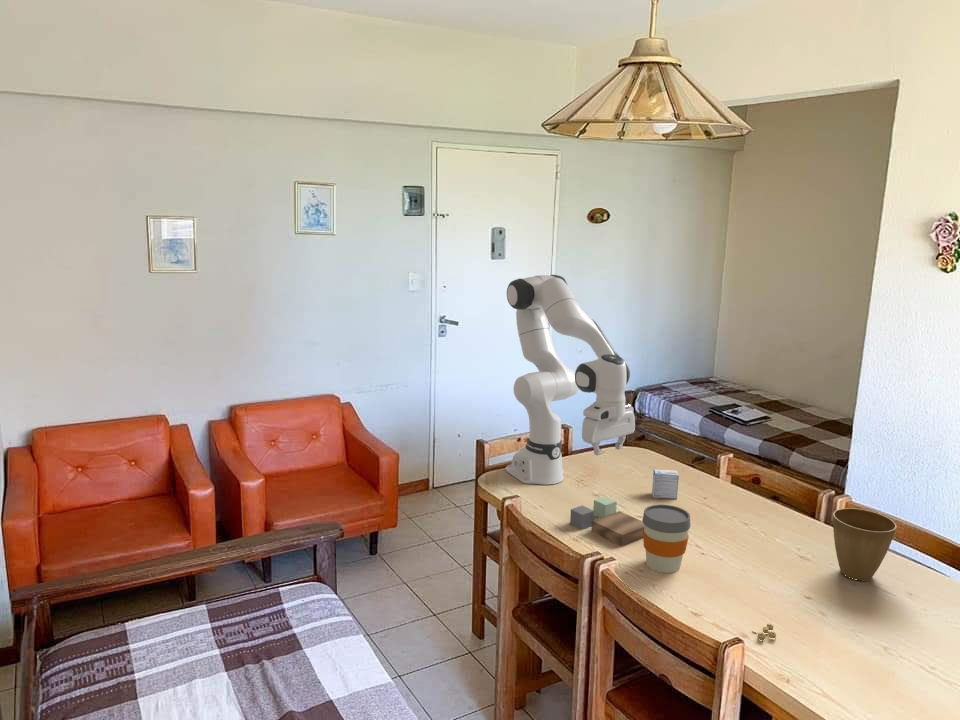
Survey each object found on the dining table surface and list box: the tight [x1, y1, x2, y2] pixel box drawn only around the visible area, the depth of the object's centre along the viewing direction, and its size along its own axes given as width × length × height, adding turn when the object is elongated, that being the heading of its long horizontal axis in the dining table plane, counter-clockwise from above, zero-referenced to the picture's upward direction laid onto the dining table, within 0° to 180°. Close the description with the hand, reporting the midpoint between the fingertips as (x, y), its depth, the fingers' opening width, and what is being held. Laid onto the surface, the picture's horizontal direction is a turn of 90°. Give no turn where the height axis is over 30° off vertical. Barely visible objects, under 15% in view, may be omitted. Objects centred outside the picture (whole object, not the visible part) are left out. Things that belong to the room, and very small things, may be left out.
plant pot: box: [832, 507, 898, 581], centre depth 196 cm, size 15×15×16 cm
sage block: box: [592, 496, 618, 518], centre depth 232 cm, size 5×5×5 cm
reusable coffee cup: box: [642, 504, 691, 574], centre depth 199 cm, size 12×13×15 cm
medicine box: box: [651, 469, 680, 500], centre depth 247 cm, size 8×4×9 cm, turn 84°
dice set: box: [757, 623, 777, 641], centre depth 169 cm, size 5×5×2 cm
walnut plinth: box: [590, 510, 644, 548], centre depth 219 cm, size 12×12×4 cm
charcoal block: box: [569, 505, 595, 531], centre depth 224 cm, size 5×5×5 cm
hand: (608, 451), depth 228 cm, fingers open, 8 cm apart
